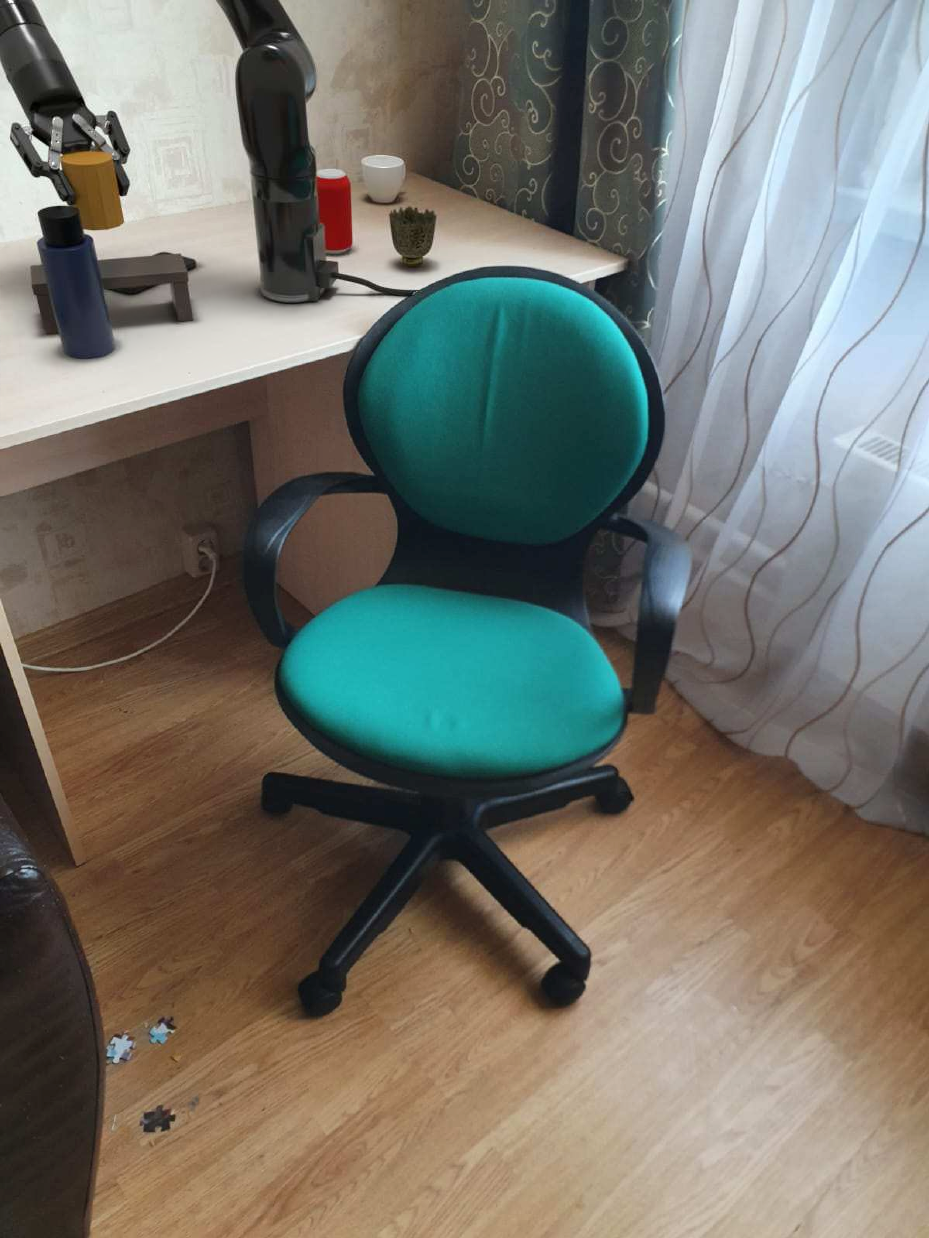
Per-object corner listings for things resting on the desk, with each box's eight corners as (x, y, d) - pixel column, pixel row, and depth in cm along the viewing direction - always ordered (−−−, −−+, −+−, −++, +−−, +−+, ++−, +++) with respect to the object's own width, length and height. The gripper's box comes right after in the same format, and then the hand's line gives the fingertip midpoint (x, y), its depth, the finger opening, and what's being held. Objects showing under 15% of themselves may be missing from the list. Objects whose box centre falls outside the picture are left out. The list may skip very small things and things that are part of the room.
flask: (124, 340, 129) (96, 206, 117) (101, 361, 124) (70, 223, 112) (78, 335, 129) (46, 201, 118) (53, 355, 124) (18, 217, 113)
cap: (132, 217, 128) (120, 153, 122) (110, 232, 123) (98, 166, 118) (87, 212, 128) (74, 148, 123) (64, 227, 124) (50, 161, 118)
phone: (199, 260, 149) (131, 290, 139) (200, 265, 150) (132, 295, 140) (162, 250, 152) (93, 279, 142) (163, 256, 152) (94, 284, 142)
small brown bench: (188, 301, 139) (180, 253, 135) (194, 320, 134) (187, 271, 130) (42, 315, 134) (30, 265, 129) (44, 335, 129) (31, 284, 124)
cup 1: (353, 199, 178) (352, 161, 174) (388, 188, 184) (388, 150, 180) (385, 209, 175) (384, 170, 170) (419, 197, 181) (420, 159, 177)
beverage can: (308, 247, 158) (303, 171, 150) (338, 240, 161) (335, 165, 153) (329, 258, 155) (325, 180, 147) (360, 251, 158) (358, 174, 150)
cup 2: (443, 262, 156) (444, 211, 150) (422, 276, 150) (423, 224, 145) (402, 253, 158) (402, 203, 153) (381, 267, 153) (380, 216, 147)
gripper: (-16, 62, 114) (48, 190, 115) (98, 51, 122) (157, 172, 123) (-20, 101, 121) (41, 223, 122) (89, 89, 128) (145, 204, 129)
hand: (99, 197), depth 122 cm, fingers closed on cap, 6 cm apart
